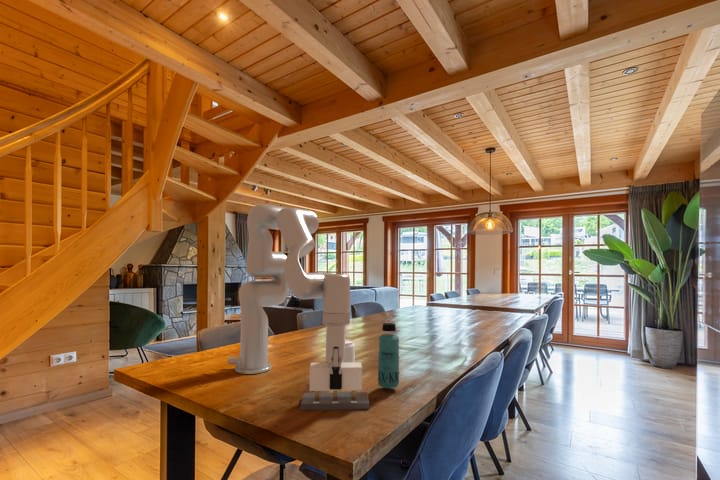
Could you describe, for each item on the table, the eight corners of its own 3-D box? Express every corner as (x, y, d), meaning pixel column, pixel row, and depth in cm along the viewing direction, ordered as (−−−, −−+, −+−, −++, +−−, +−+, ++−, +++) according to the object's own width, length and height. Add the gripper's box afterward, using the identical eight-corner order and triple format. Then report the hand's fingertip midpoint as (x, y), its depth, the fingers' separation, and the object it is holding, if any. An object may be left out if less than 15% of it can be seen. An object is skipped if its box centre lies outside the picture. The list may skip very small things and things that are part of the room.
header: (300, 409, 92) (300, 388, 93) (303, 398, 100) (304, 378, 101) (369, 408, 93) (369, 387, 94) (367, 397, 101) (367, 377, 102)
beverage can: (357, 375, 121) (358, 339, 122) (349, 382, 114) (349, 344, 114) (336, 372, 124) (336, 337, 125) (326, 379, 116) (327, 342, 117)
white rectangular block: (309, 390, 94) (309, 367, 95) (311, 384, 99) (311, 362, 100) (361, 390, 95) (362, 367, 95) (360, 384, 100) (361, 362, 100)
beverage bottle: (376, 386, 111) (376, 321, 112) (397, 385, 111) (397, 321, 112) (379, 394, 104) (379, 325, 105) (401, 393, 105) (401, 325, 106)
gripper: (324, 314, 107) (323, 376, 105) (321, 323, 90) (320, 397, 88) (349, 314, 107) (349, 375, 106) (350, 323, 90) (350, 396, 89)
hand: (335, 384), depth 97 cm, fingers closed on white rectangular block, 5 cm apart
